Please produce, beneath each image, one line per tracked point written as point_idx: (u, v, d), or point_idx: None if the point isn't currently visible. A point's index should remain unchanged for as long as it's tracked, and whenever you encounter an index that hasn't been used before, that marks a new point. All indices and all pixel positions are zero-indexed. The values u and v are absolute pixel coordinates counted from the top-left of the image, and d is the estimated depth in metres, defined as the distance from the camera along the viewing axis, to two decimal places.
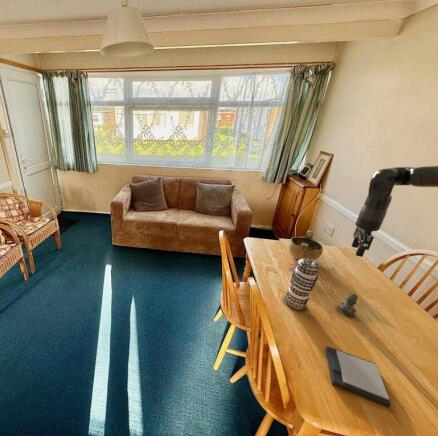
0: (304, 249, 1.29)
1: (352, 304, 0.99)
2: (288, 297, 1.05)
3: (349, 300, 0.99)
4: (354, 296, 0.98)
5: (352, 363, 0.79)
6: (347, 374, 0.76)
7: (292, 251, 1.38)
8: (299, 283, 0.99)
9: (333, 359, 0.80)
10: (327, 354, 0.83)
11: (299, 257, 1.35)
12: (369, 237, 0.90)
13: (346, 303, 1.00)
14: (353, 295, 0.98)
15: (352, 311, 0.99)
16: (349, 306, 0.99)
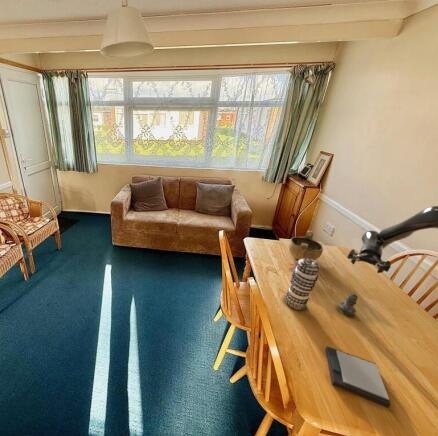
0: (304, 249, 1.29)
1: (352, 304, 0.99)
2: (288, 297, 1.05)
3: (349, 300, 0.99)
4: (354, 296, 0.98)
5: (352, 363, 0.79)
6: (347, 374, 0.76)
7: (292, 251, 1.38)
8: (299, 283, 0.99)
9: (333, 359, 0.80)
10: (327, 354, 0.83)
11: (299, 257, 1.35)
12: None
13: (346, 303, 1.00)
14: (353, 295, 0.98)
15: (352, 311, 0.99)
16: (349, 306, 0.99)
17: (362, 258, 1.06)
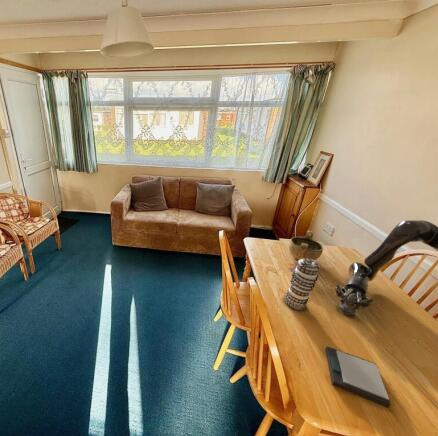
0: (304, 249, 1.29)
1: (352, 304, 0.99)
2: (288, 297, 1.05)
3: (349, 300, 0.99)
4: (354, 296, 0.98)
5: (352, 363, 0.79)
6: (347, 374, 0.76)
7: (292, 251, 1.38)
8: (299, 283, 0.99)
9: (333, 359, 0.80)
10: (327, 354, 0.83)
11: (299, 257, 1.35)
12: (335, 287, 1.08)
13: (346, 303, 1.00)
14: (353, 295, 0.98)
15: (352, 311, 0.99)
16: (349, 306, 0.99)
17: None
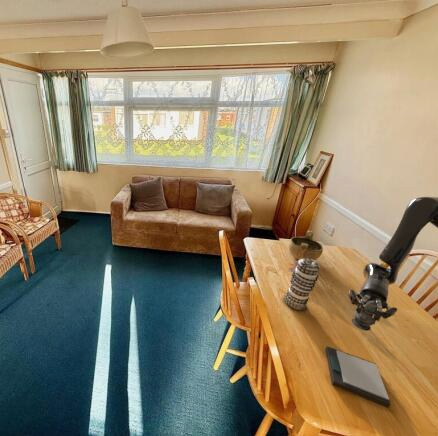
0: (304, 249, 1.29)
1: (371, 314, 0.81)
2: (288, 297, 1.05)
3: (367, 309, 0.81)
4: (373, 304, 0.80)
5: (352, 363, 0.79)
6: (347, 374, 0.76)
7: (292, 251, 1.38)
8: (299, 283, 0.99)
9: (333, 359, 0.80)
10: (327, 354, 0.83)
11: (299, 257, 1.35)
12: (349, 292, 0.90)
13: (363, 312, 0.82)
14: (372, 303, 0.80)
15: (371, 322, 0.81)
16: (366, 316, 0.82)
17: None
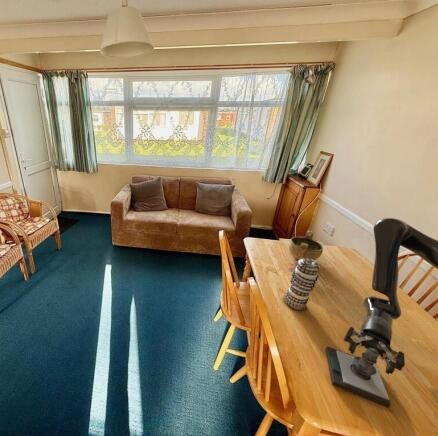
0: (304, 249, 1.29)
1: (371, 363, 0.72)
2: (288, 297, 1.05)
3: (367, 357, 0.72)
4: (374, 353, 0.71)
5: (352, 363, 0.79)
6: (347, 374, 0.76)
7: (292, 251, 1.38)
8: (299, 283, 0.99)
9: (333, 359, 0.80)
10: (327, 354, 0.83)
11: (299, 257, 1.35)
12: None
13: (363, 360, 0.74)
14: (373, 351, 0.71)
15: (371, 372, 0.73)
16: (367, 365, 0.73)
17: (364, 344, 0.77)
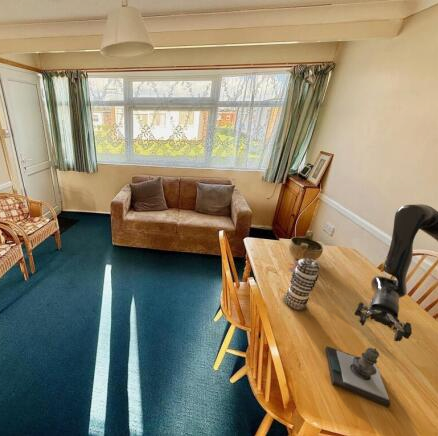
0: (304, 249, 1.29)
1: (371, 363, 0.72)
2: (288, 297, 1.05)
3: (367, 357, 0.72)
4: (374, 353, 0.71)
5: (352, 363, 0.79)
6: (347, 374, 0.76)
7: (292, 251, 1.38)
8: (299, 283, 0.99)
9: (333, 359, 0.80)
10: (327, 354, 0.83)
11: (299, 257, 1.35)
12: None
13: (363, 360, 0.74)
14: (373, 351, 0.71)
15: (371, 372, 0.73)
16: (367, 365, 0.73)
17: (374, 316, 0.83)
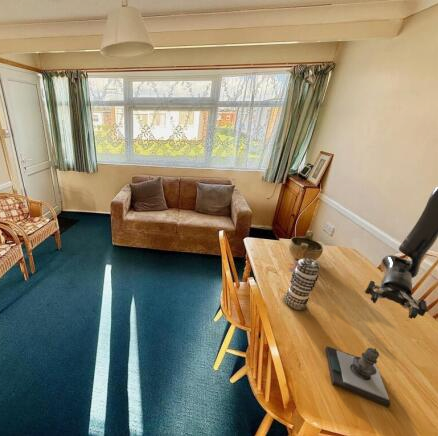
0: (304, 249, 1.29)
1: (371, 363, 0.72)
2: (288, 297, 1.05)
3: (367, 357, 0.72)
4: (374, 353, 0.71)
5: (352, 363, 0.79)
6: (347, 374, 0.76)
7: (292, 251, 1.38)
8: (299, 283, 0.99)
9: (333, 359, 0.80)
10: (327, 354, 0.83)
11: (299, 257, 1.35)
12: None
13: (363, 360, 0.74)
14: (373, 351, 0.71)
15: (371, 372, 0.73)
16: (367, 365, 0.73)
17: (386, 294, 0.79)
